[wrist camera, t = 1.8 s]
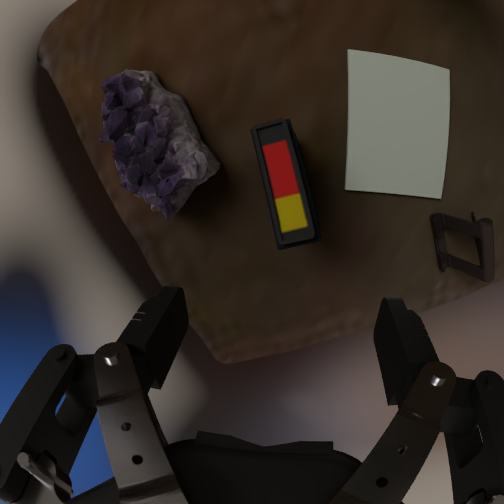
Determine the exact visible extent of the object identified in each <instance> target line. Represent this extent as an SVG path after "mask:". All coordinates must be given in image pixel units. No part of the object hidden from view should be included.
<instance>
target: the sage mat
mask: <svg viewBox="0 0 504 504" xmlns="http://www.w3.org/2000/svg"><path fill="white" fill-rule="evenodd" d="M347 54H348V135H347V159H346V176H345V190H356V191H369V192H381V193H392V194H403V195H412V196H421V197H430V198H438V199H441V196H442V189H443V182H444V175H445V167H446V158H447V147H448V135H449V116H450V70H449V69H445V68H442V67H438V66H435V65H431V64H427V63H423V62H419V61H414V60H410V59H405V58H400V57H395V56H390V55H384V54H378V53H372V52H365V51H357V50H349V49H348V50H347Z"/></svg>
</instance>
